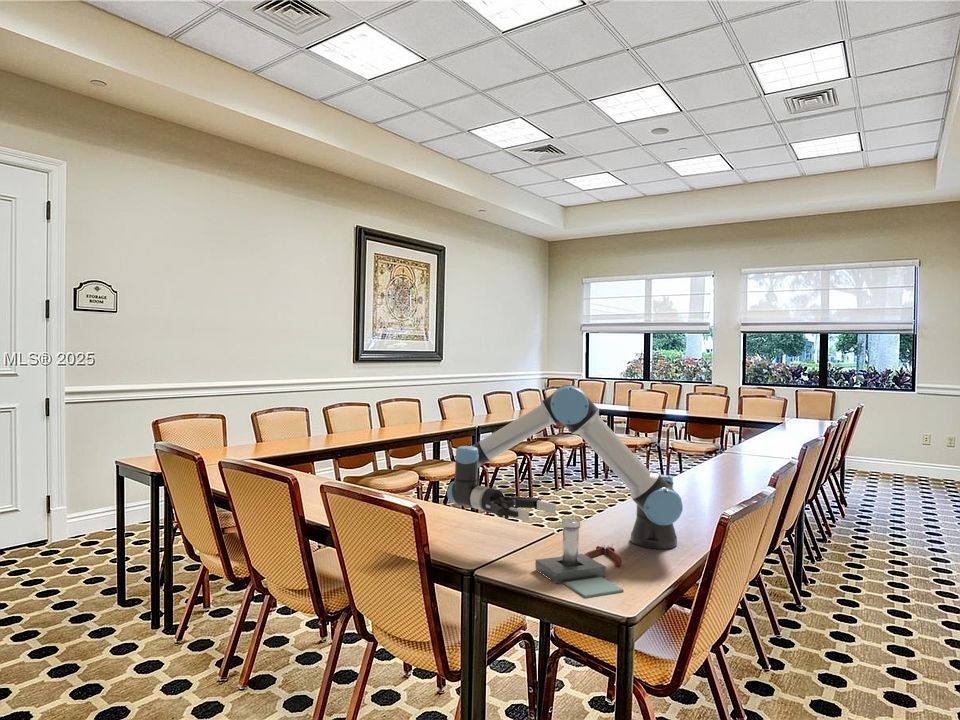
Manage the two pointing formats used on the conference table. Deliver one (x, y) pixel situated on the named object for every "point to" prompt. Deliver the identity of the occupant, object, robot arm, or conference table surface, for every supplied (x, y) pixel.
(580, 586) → the rubber mat
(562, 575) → the socket plate
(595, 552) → the pliers
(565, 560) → the steel pin
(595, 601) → the conference table surface
